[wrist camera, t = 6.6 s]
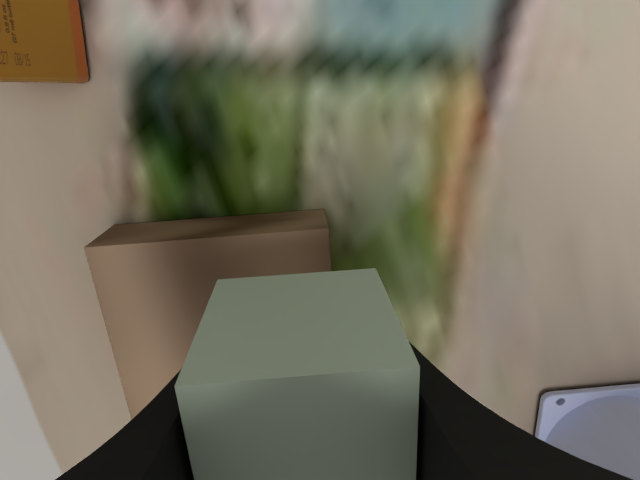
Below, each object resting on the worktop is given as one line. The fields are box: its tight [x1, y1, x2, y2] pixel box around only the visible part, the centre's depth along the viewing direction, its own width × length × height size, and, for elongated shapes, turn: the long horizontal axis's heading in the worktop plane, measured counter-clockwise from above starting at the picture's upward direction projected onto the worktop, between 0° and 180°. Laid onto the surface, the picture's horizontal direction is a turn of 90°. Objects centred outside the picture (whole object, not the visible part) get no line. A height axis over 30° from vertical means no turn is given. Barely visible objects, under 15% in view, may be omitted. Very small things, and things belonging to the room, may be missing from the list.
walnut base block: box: [84, 209, 331, 419], centre depth 20 cm, size 10×10×3 cm
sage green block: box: [174, 268, 420, 480], centre depth 12 cm, size 5×5×5 cm
